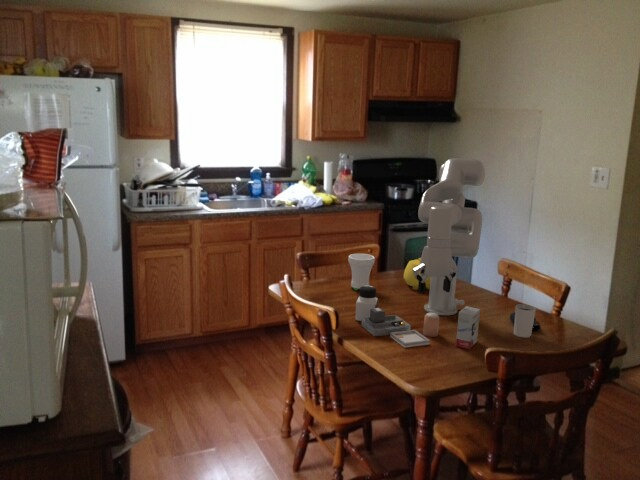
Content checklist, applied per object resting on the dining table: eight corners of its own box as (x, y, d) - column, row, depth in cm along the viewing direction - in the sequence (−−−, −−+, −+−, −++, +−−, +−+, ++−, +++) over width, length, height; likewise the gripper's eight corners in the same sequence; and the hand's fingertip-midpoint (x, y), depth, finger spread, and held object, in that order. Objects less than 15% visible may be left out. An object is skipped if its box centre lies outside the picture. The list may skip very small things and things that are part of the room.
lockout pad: (414, 333, 200) (415, 329, 200) (429, 344, 191) (429, 340, 191) (390, 336, 197) (390, 332, 196) (404, 347, 188) (404, 343, 188)
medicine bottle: (374, 322, 209) (376, 290, 206) (355, 320, 210) (356, 289, 208) (376, 316, 216) (378, 285, 213) (357, 314, 217) (359, 283, 214)
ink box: (469, 350, 188) (472, 315, 186) (454, 346, 191) (458, 312, 188) (477, 341, 195) (480, 308, 193) (463, 338, 198) (466, 305, 195)
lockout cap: (432, 330, 204) (434, 311, 202) (440, 335, 199) (442, 316, 197) (420, 332, 202) (422, 312, 200) (428, 337, 197) (429, 317, 196)
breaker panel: (396, 321, 210) (397, 312, 210) (410, 332, 201) (411, 322, 201) (361, 325, 205) (362, 315, 204) (374, 336, 196) (374, 326, 195)
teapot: (427, 280, 264) (429, 253, 261) (444, 294, 245) (447, 265, 242) (398, 281, 261) (400, 253, 258) (413, 295, 242) (415, 265, 239)
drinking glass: (522, 339, 199) (525, 311, 197) (508, 332, 205) (511, 305, 203) (536, 336, 202) (540, 309, 200) (522, 329, 208) (525, 303, 206)
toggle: (379, 320, 204) (380, 307, 203) (384, 323, 201) (385, 310, 199) (369, 321, 202) (370, 308, 201) (374, 324, 199) (375, 311, 198)
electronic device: (541, 336, 207) (532, 316, 221) (542, 323, 205) (533, 303, 219) (514, 337, 208) (507, 317, 222) (514, 324, 206) (507, 304, 220)
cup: (348, 283, 254) (349, 252, 251) (373, 285, 252) (375, 254, 249) (345, 291, 243) (347, 259, 240) (372, 293, 241) (374, 261, 238)
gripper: (453, 239, 200) (449, 287, 203) (410, 241, 193) (406, 290, 197) (466, 244, 193) (461, 293, 196) (421, 246, 186) (417, 297, 190)
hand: (434, 292), depth 197 cm, fingers open, 9 cm apart
